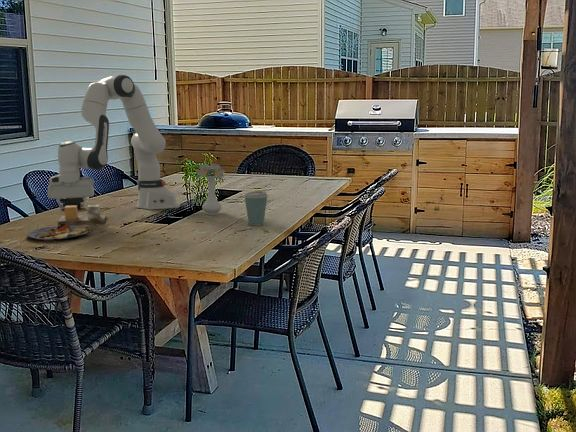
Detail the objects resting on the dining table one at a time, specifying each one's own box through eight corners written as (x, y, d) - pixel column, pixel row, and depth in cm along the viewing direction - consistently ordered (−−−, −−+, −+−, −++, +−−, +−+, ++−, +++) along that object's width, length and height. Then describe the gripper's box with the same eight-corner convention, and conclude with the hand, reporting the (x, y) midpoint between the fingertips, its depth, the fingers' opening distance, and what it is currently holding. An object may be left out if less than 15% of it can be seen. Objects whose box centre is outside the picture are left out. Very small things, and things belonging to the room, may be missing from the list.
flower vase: (227, 210, 330) (227, 161, 325) (221, 217, 312) (220, 165, 307) (202, 210, 331) (201, 161, 326) (194, 216, 313) (193, 165, 308)
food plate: (69, 227, 287) (69, 219, 287) (101, 235, 273) (100, 227, 272) (16, 238, 269) (15, 230, 268) (46, 247, 254) (46, 238, 253)
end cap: (71, 211, 327) (70, 197, 326) (60, 210, 330) (59, 196, 328) (84, 207, 336) (83, 194, 335) (73, 206, 339) (72, 194, 337)
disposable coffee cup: (250, 227, 288) (249, 194, 286) (240, 223, 298) (240, 191, 295) (271, 225, 293) (271, 192, 290) (261, 221, 303) (261, 189, 300)
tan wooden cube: (77, 216, 303) (77, 205, 302) (76, 219, 298) (75, 207, 297) (66, 217, 302) (66, 205, 301) (65, 219, 298) (64, 207, 297)
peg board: (106, 217, 310) (105, 203, 309) (103, 223, 297) (103, 208, 295) (62, 218, 307) (61, 204, 305) (57, 224, 293) (56, 209, 292)
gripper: (94, 175, 302) (96, 205, 305) (47, 177, 298) (50, 206, 301) (92, 177, 296) (94, 207, 299) (45, 179, 292) (48, 209, 295)
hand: (72, 207), depth 300 cm, fingers open, 8 cm apart
